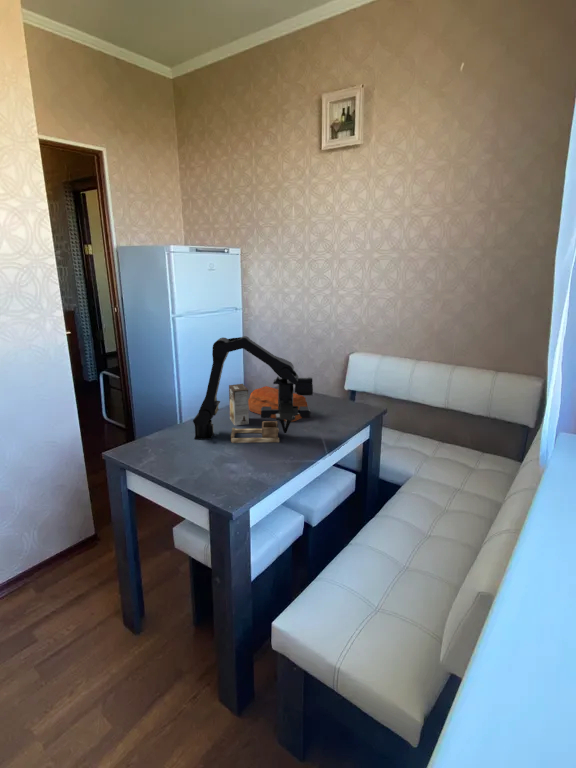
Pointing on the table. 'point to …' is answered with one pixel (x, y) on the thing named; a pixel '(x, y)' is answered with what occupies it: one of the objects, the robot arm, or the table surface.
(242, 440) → the beige cubby shelf
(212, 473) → the table surface
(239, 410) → the coffee box
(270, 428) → the crate
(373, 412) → the table surface
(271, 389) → the bread
